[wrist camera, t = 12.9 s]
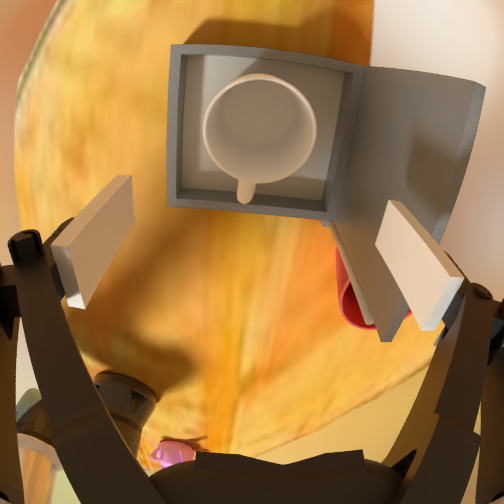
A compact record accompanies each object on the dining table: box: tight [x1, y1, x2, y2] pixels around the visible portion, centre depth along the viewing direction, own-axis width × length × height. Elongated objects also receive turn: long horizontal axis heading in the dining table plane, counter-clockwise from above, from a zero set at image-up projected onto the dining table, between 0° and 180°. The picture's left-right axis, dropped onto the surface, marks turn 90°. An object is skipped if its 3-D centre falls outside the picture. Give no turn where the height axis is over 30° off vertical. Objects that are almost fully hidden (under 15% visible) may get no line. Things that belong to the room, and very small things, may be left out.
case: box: [167, 44, 486, 342], centre depth 24 cm, size 19×19×21 cm
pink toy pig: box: [150, 440, 194, 469], centre depth 76 cm, size 12×14×9 cm
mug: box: [203, 73, 317, 204], centre depth 27 cm, size 12×8×10 cm
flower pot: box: [336, 247, 412, 330], centre depth 36 cm, size 11×11×10 cm
